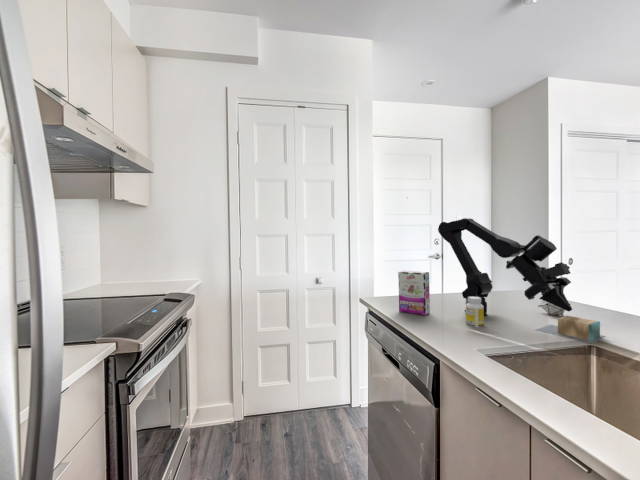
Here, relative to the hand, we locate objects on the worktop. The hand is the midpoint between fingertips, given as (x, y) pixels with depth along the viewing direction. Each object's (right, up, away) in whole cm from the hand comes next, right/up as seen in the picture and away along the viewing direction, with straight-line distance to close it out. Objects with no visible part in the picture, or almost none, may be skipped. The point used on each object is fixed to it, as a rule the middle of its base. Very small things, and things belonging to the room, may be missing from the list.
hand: (570, 310), depth 92 cm
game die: (+11, -7, +21) cm, 25 cm away
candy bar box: (-38, -8, +30) cm, 49 cm away
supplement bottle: (-24, -8, +11) cm, 27 cm away
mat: (0, -8, +1) cm, 8 cm away
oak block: (-1, -5, +2) cm, 5 cm away
